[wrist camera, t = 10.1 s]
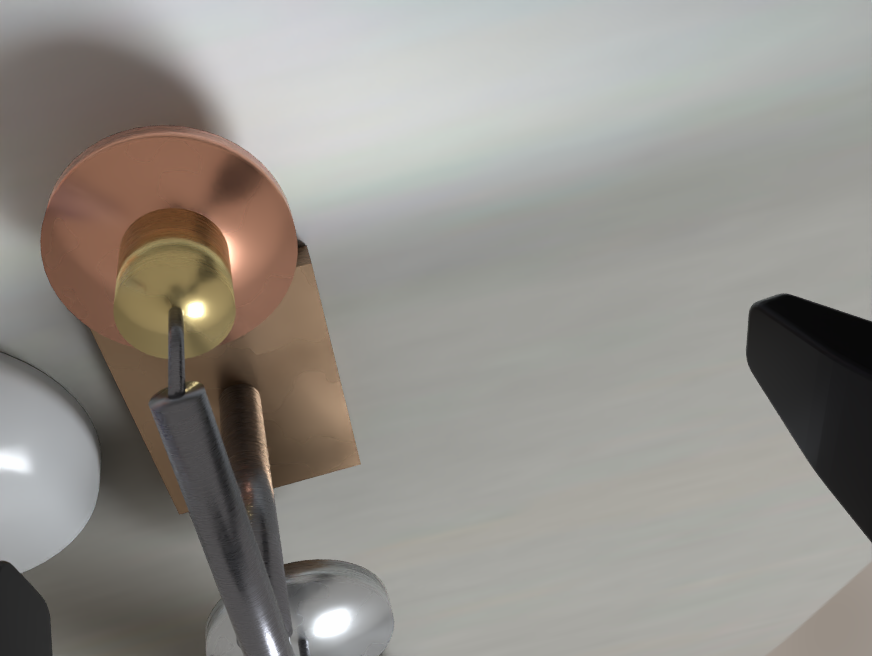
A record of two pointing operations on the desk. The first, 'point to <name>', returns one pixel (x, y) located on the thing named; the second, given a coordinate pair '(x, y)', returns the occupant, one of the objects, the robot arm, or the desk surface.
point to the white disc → (42, 465)
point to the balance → (218, 369)
